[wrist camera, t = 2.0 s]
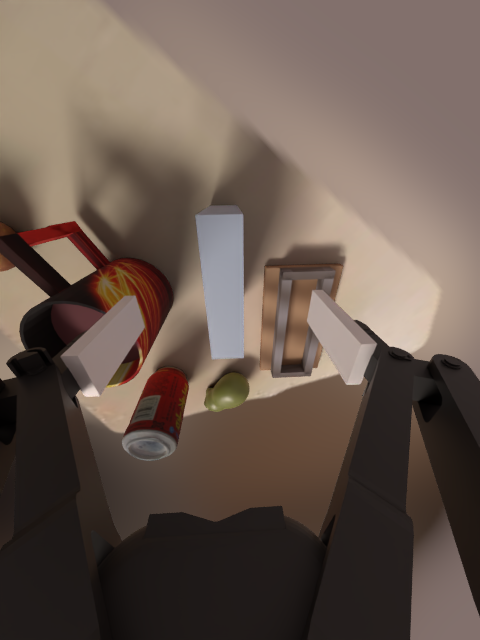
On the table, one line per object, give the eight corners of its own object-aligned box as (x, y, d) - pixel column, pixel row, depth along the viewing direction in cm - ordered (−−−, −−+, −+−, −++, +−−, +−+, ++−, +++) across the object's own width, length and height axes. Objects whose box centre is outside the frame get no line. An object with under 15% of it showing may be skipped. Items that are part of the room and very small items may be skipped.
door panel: (210, 205, 23) (195, 215, 13) (236, 205, 23) (243, 214, 13) (217, 301, 29) (211, 359, 19) (238, 300, 29) (243, 357, 19)
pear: (256, 403, 33) (219, 422, 38) (255, 375, 37) (222, 396, 42) (229, 389, 31) (194, 412, 36) (232, 362, 35) (200, 385, 40)
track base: (264, 265, 27) (268, 272, 24) (339, 263, 27) (350, 270, 25) (259, 366, 36) (261, 378, 34) (315, 363, 37) (321, 375, 34)
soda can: (141, 373, 36) (106, 447, 25) (174, 357, 34) (151, 429, 24) (167, 395, 39) (145, 469, 29) (198, 382, 38) (187, 454, 27)
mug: (77, 217, 23) (-45, 236, 13) (186, 286, 28) (161, 339, 18) (55, 282, 27) (-53, 338, 16) (154, 333, 32) (119, 399, 21)
